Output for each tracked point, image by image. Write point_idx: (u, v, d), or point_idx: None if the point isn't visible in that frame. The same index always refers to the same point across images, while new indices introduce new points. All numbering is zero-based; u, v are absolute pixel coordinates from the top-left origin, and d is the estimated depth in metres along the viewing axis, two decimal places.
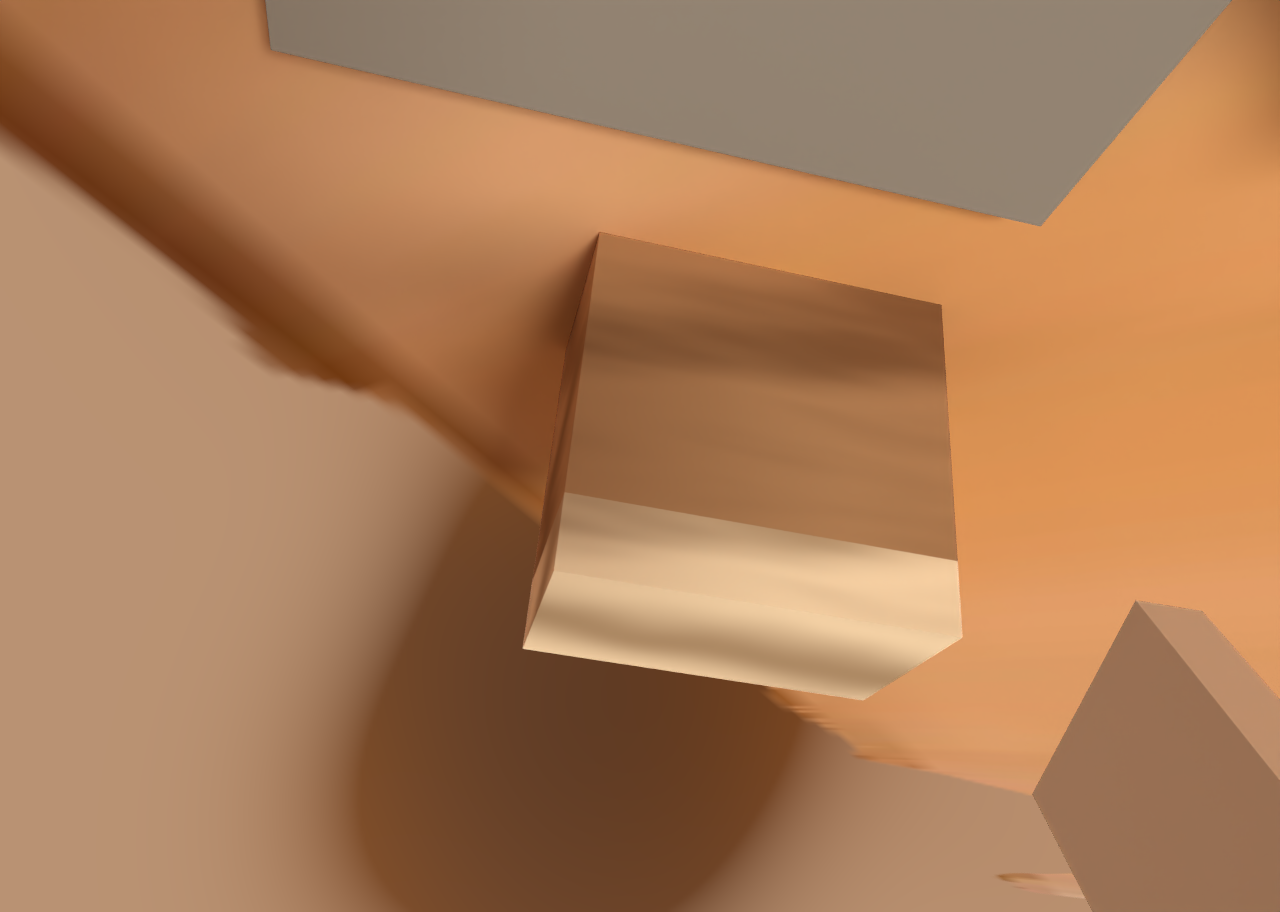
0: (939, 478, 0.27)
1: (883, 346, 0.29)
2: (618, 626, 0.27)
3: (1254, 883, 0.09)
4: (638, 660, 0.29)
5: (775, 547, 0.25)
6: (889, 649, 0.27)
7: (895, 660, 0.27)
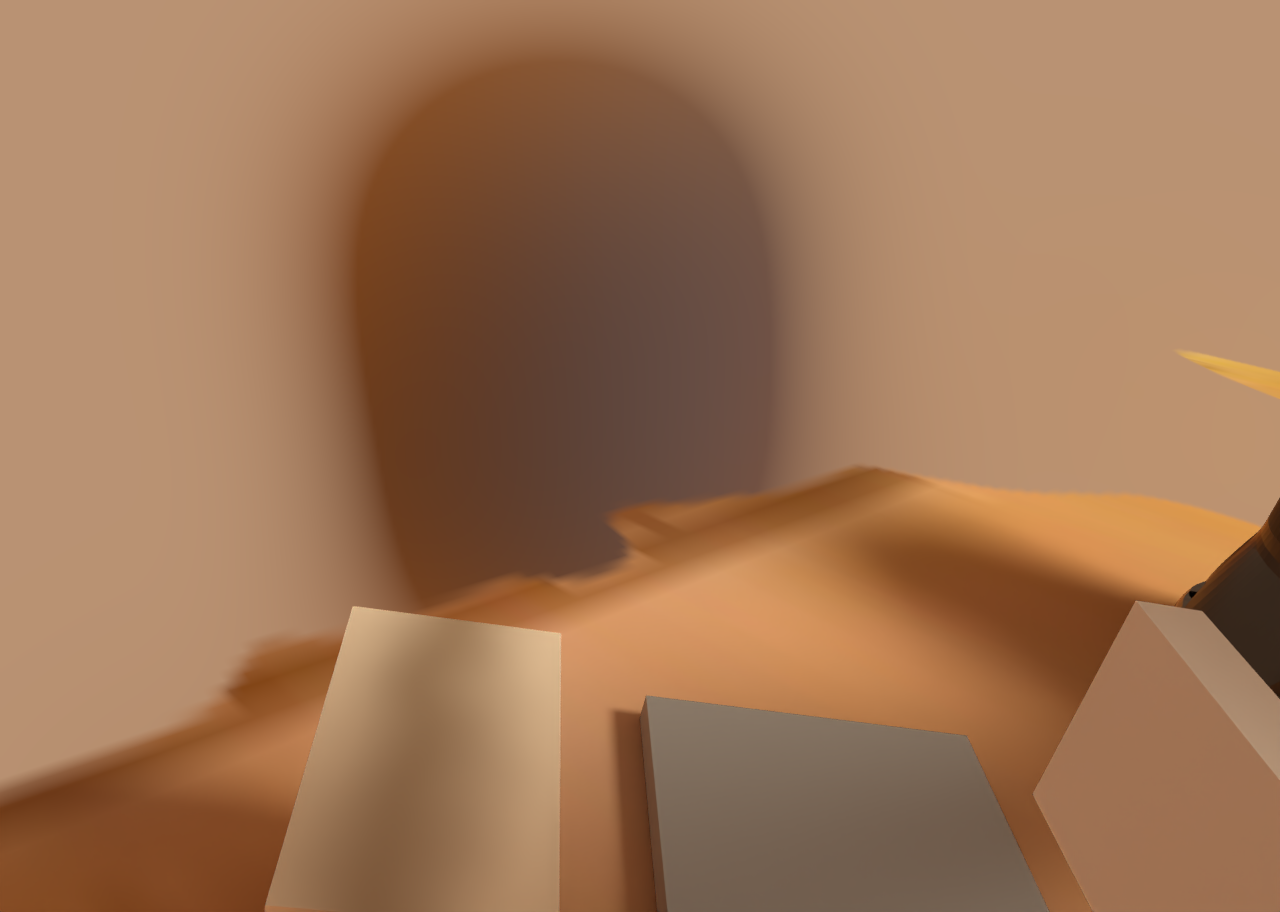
0: None
1: None
2: (451, 667, 0.29)
3: (1255, 884, 0.09)
4: (351, 682, 0.27)
5: None
6: (486, 878, 0.23)
7: (453, 893, 0.22)
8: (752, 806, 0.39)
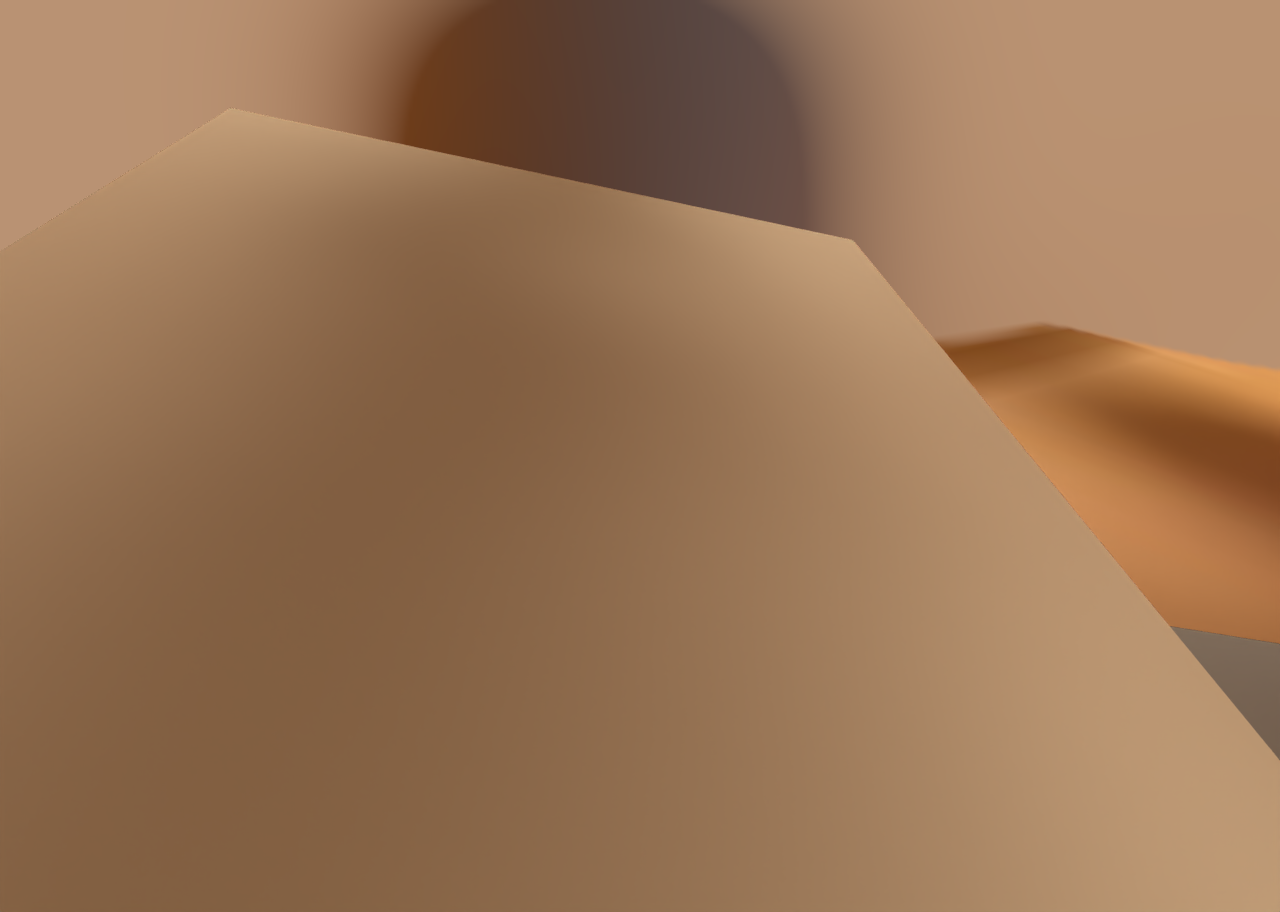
0: None
1: None
2: (552, 239, 0.08)
3: None
4: (173, 211, 0.07)
5: None
6: None
7: None
8: None
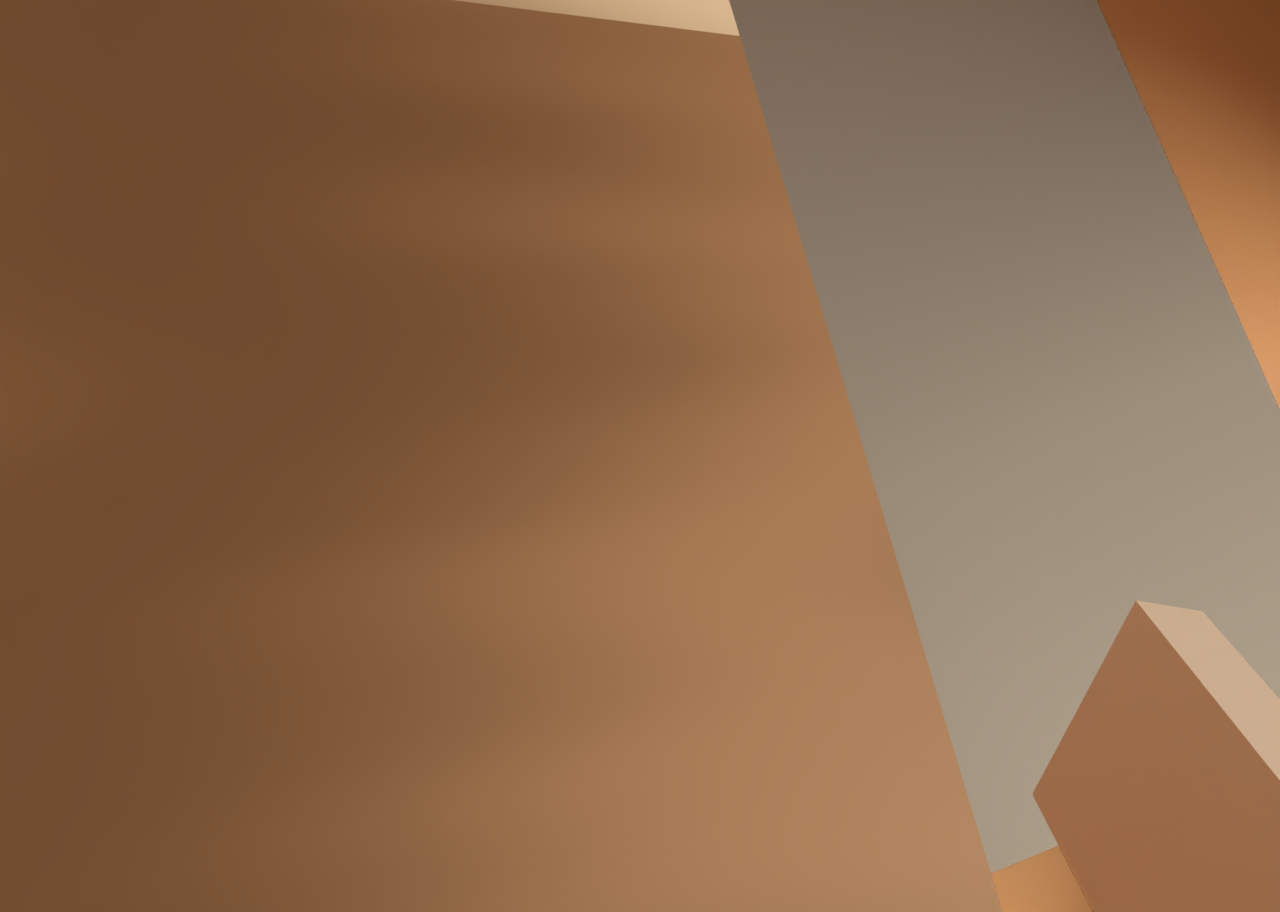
0: None
1: None
2: None
3: (1254, 884, 0.09)
4: None
5: None
6: None
7: None
8: (790, 130, 0.19)
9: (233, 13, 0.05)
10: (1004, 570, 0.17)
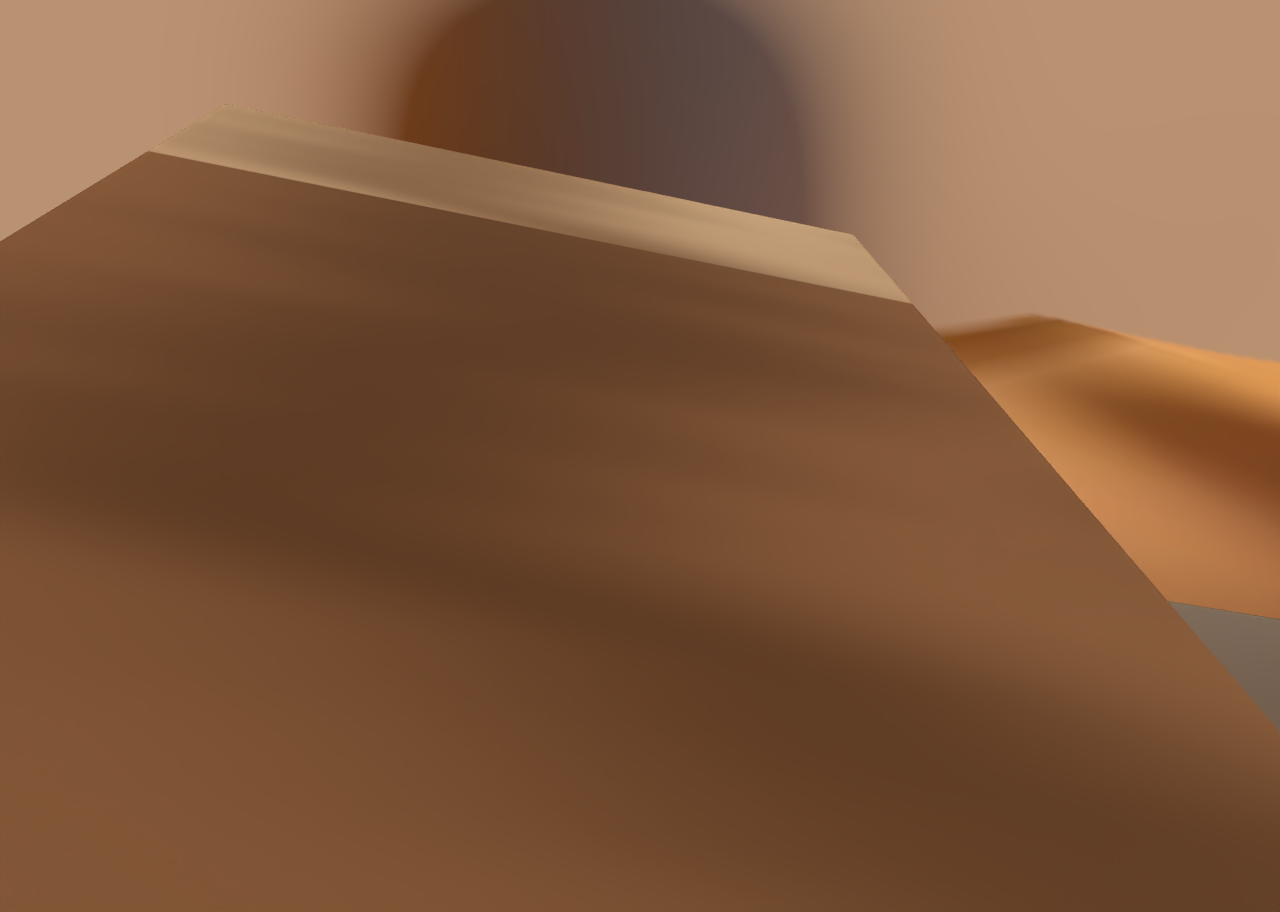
0: None
1: None
2: None
3: None
4: None
5: None
6: None
7: None
8: None
9: (573, 245, 0.08)
10: None
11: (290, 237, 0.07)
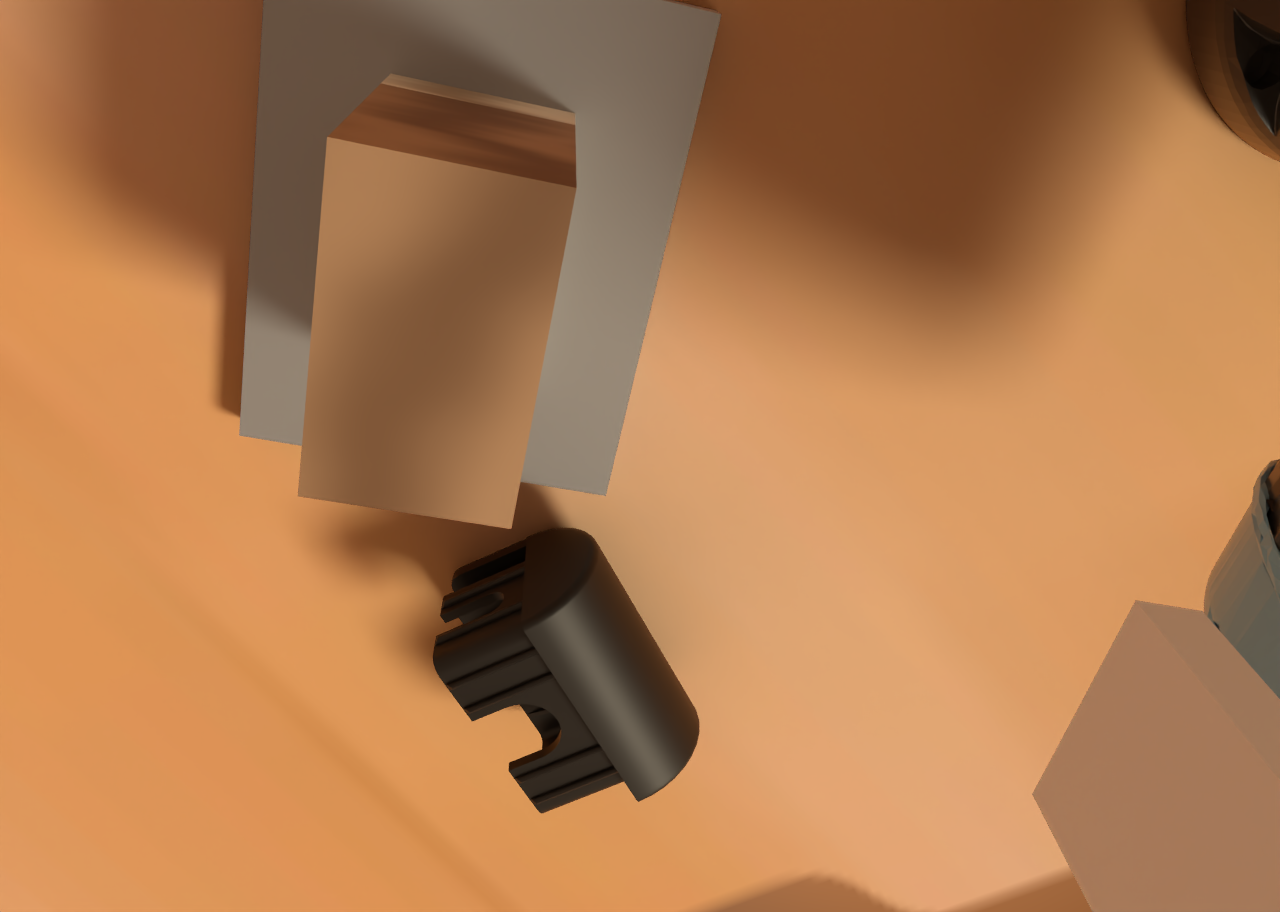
0: None
1: None
2: None
3: (1254, 884, 0.09)
4: None
5: None
6: None
7: None
8: None
9: (484, 107, 0.32)
10: None
11: (419, 100, 0.31)
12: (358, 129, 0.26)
